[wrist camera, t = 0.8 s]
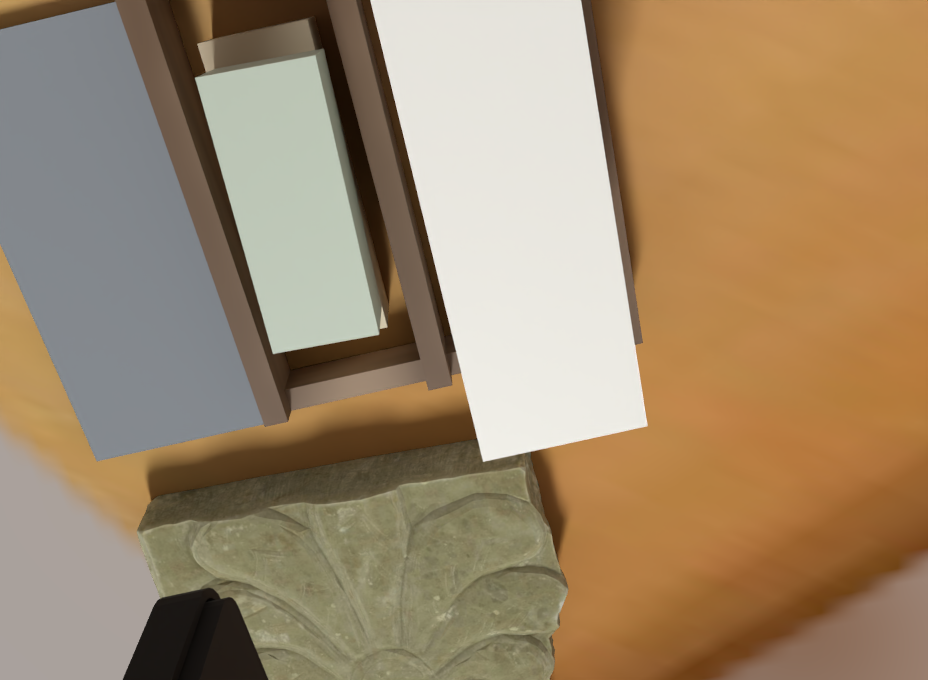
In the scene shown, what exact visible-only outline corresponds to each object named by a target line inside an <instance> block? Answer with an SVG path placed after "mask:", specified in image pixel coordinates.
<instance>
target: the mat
mask: <svg viewBox="0 0 928 680" xmlns="http://www.w3.org/2000/svg"><path fill="white" fill-rule="evenodd" d="M0 245H1V247H2V249H3V251H4V254H5V256H6V258H7V260H8V263H9V265H10V267H11V269H12V272H13V274H14V276H15V278H16V281H17V283H18V285H19V287H20V290H21V292H22V294H23V296H24V299H25V301H26V303H27V305H28V308H29V310H30V312H31V314H32V317H33V319H34V321H35V323H36V326H37V328H38V330H39V332H40V335H41V337H42V339H43V341H44V344H45V346H46V348H47V350H48V353H49V355H50V357H51V359H52V362H53V364H54V366H55V368H56V371H57V373H58V375H59V377H60V379H61V382H62V384H63V386H64V388H65V391H66V393H67V395H68V397H69V400H70V402H71V404H72V406H73V409H74V411H75V413H76V415H77V418H78V420H79V422H80V424H81V427H82V429H83V431H84V433H85V436H86V438H87V440H88V442H89V445H90V447H91V449H92V451H93V454H94V456H95V458H96V460H97V461H100V460H105V459H109V458H114V457H118V456H123V455H127V454H132V453H136V452H141V451H145V450H150V449H154V448H159V447H163V446H168V445H172V444H177V443H181V442H186V441H190V440H195V439H199V438H204V437H208V436H213V435H217V434H222V433H226V432H231V431H235V430H240V429H244V428H249V427H254V426H258V425H263V424H264V423H263V421H262V418H261V415H260V412H259V409H258V406H257V403H256V401H255V398H254V395H253V392H252V389H251V386H250V384H249V381H248V378H247V375H246V372H245V369H244V366H243V364H242V361H241V358H240V355H239V352H238V349H237V347H236V344H235V341H234V338H233V335H232V332H231V329H230V327H229V324H228V321H227V318H226V315H225V312H224V310H223V307H222V304H221V301H220V298H219V295H218V292H217V290H216V287H215V284H214V281H213V278H212V275H211V273H210V270H209V267H208V264H207V261H206V258H205V255H204V253H203V250H202V247H201V244H200V241H199V238H198V236H197V233H196V230H195V227H194V224H193V221H192V218H191V216H190V213H189V210H188V207H187V204H186V201H185V199H184V196H183V193H182V190H181V187H180V184H179V181H178V179H177V176H176V173H175V170H174V167H173V164H172V162H171V159H170V156H169V153H168V150H167V147H166V144H165V142H164V139H163V136H162V133H161V130H160V127H159V125H158V122H157V119H156V116H155V113H154V110H153V107H152V105H151V102H150V99H149V96H148V93H147V90H146V88H145V85H144V82H143V79H142V76H141V73H140V70H139V68H138V65H137V62H136V59H135V56H134V53H133V51H132V48H131V45H130V42H129V39H128V36H127V33H126V31H125V28H124V25H123V22H122V19H121V16H120V14H119V11H118V8H117V5H116V2H112V3H108V4H104V5H100V6H96V7H92V8H87V9H83V10H79V11H75V12H71V13H67V14H63V15H58V16H54V17H50V18H46V19H42V20H38V21H34V22H29V23H25V24H21V25H17V26H13V27H9V28H5V29H0Z"/></svg>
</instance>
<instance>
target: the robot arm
mask: <svg viewBox="0 0 928 680" xmlns="http://www.w3.org/2000/svg"><path fill="white" fill-rule="evenodd" d="M123 680H268V677H267V675H266V672H265V670H264V667H263V665H262V663H261V660H260V658H259V655H258V653H257V650H256V648H255V646H254V643H253V641H252V638H251V636H250V633H249V631H248V629H247V626H246V624H245V621H244V619H243V617H242V614H241V612H240V609H239V607H238V605H237V603H236V601H235V600H234V599H233V598H231V597H227V598H222V599H221V598H220V596H219V594H218V593H217V592H216V591H215V590H214V589H212V588H205V589H200V590H195V591H191V592H186V593H181V594H176V595H172V596H167V597H162V598H161V599H159V600H158V601H157V602H156V604H155V605H154V607H153V609H152V612H151V614H150V616H149V619H148V621H147V624H146V626H145V628H144V631H143V633H142V635H141V638H140V640H139V642H138V645H137V647H136V650H135V652H134V654H133V657H132V659H131V661H130V664H129V666H128V669H127V671H126V673H125V676H124V678H123Z"/></svg>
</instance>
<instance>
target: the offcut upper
mask: <svg viewBox="0 0 928 680" xmlns="http://www.w3.org/2000/svg"><path fill="white" fill-rule="evenodd" d="M195 80H196V83H197V87H198V90H199V94H200V97H201V101H202V104H203V108H204V111H205V115H206V118H207V122H208V126H209V129H210V133H211V136H212V140H213V143H214V147H215V150H216V154H217V157H218V161H219V164H220V168H221V172H222V175H223V179H224V182H225V186H226V189H227V193H228V196H229V200H230V203H231V207H232V211H233V214H234V218H235V221H236V225H237V228H238V232H239V235H240V239H241V242H242V246H243V249H244V253H245V257H246V260H247V264H248V267H249V271H250V274H251V278H252V281H253V285H254V288H255V292H256V295H257V299H258V303H259V306H260V310H261V313H262V317H263V320H264V324H265V327H266V331H267V334H268V338H269V341H270V345H271V349H272V352H273V354H276V353H281V352H287V351H292V350H298V349H303V348H309V347H314V346H320V345H325V344H331V343H336V342H342V341H347V340H353V339H358V338H364V337H369V336H375V335H379V331H380V321H381V310H382V305H381V301H380V296H379V292H378V287H377V283H376V278H375V274H374V270H373V265H372V261H371V256H370V252H369V247H368V243H367V238H366V234H365V229H364V225H363V220H362V216H361V212H360V207H359V203H358V198H357V194H356V189H355V185H354V180H353V176H352V171H351V167H350V163H349V158H348V154H347V149H346V145H345V140H344V136H343V131H342V127H341V122H340V118H339V113H338V109H337V105H336V100H335V96H334V91H333V87H332V82H331V78H330V73H329V69H328V64H327V60H326V56H325V51H324V49H318V50H313V51H308V52H302V53H297V54H292V55H286V56H281V57H276V58H270V59H265V60H260V61H254V62H249V63H244V64H238V65H233V66H228V67H222V68H217V69H213V70H211V71H209V72H207V73H204V74H202V75H200V76H198V77H196V78H195Z"/></svg>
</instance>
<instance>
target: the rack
mask: <svg viewBox="0 0 928 680" xmlns="http://www.w3.org/2000/svg"><path fill="white" fill-rule="evenodd" d="M115 2H116V5H117V8H118V11H119V14H120V16H121V19H122V22H123V25H124V28H125V31H126V33H127V36H128V39H129V42H130V45H131V48H132V51H133V53H134V56H135V59H136V62H137V65H138V68H139V70H140V73H141V76H142V79H143V82H144V85H145V88H146V90H147V93H148V96H149V99H150V102H151V105H152V107H153V110H154V113H155V116H156V119H157V122H158V125H159V127H160V130H161V133H162V136H163V139H164V142H165V144H166V147H167V150H168V153H169V156H170V159H171V162H172V164H173V167H174V170H175V173H176V176H177V179H178V181H179V184H180V187H181V190H182V193H183V196H184V199H185V201H186V204H187V207H188V210H189V213H190V216H191V218H192V221H193V224H194V227H195V230H196V233H197V236H198V238H199V241H200V244H201V247H202V250H203V253H204V255H205V258H206V261H207V264H208V267H209V270H210V273H211V275H212V278H213V281H214V284H215V287H216V290H217V292H218V295H219V298H220V301H221V304H222V307H223V310H224V312H225V315H226V318H227V321H228V324H229V327H230V329H231V332H232V335H233V338H234V341H235V344H236V347H237V349H238V352H239V355H240V358H241V361H242V364H243V366H244V369H245V372H246V375H247V378H248V381H249V384H250V386H251V389H252V392H253V395H254V398H255V401H256V403H257V406H258V409H259V412H260V415H261V418H262V421H263V423H264V426H265V427H266V426H271V425H275V424H280V423H284V422H288V420H289V416H290V413H291V411H292V410H296V409H301V408H305V407H310V406H314V405H319V404H323V403H328V402H332V401H337V400H341V399H346V398H351V397H355V396H360V395H364V394H369V393H373V392H378V391H382V390H387V389H391V388H396V387H400V386H405V385H409V384H414V383H418V382H423V381H426V382H427V386H428V390H433V389H438V388H442V387H447V386H451V385H452V377H451V375H454V374H459V373H461V369H460V365H459V361H458V357H457V353H456V349H455V345H454V341H453V337H452V334H451V335H447V336H444V332H443V328H442V323H441V319H440V315H439V311H438V307H437V303H436V299H435V295H434V291H433V287H432V283H431V279H430V275H429V271H428V267H427V263H426V259H425V255H424V251H423V247H422V243H421V239H420V235H419V231H418V227H417V223H416V219H415V215H414V211H413V207H412V203H411V199H410V195H409V191H408V186H407V182H406V178H405V174H404V170H403V166H402V162H401V158H400V154H399V150H398V146H397V142H396V138H395V134H394V130H393V126H392V122H391V118H390V114H389V110H388V106H387V102H386V98H385V94H384V90H383V86H382V82H381V78H380V74H379V70H378V66H377V62H376V58H375V54H374V49H373V45H372V41H371V37H370V33H369V29H368V25H367V21H366V17H365V13H364V9H363V5H362V1H361V0H326V2H327V6H328V10H329V13H330V17H331V21H332V25H333V29H334V32H335V36H336V40H337V44H338V48H339V51H340V55H341V59H342V63H343V67H344V70H345V74H346V78H347V82H348V86H349V89H350V93H351V97H352V101H353V105H354V108H355V112H356V116H357V120H358V124H359V127H360V131H361V135H362V139H363V143H364V147H365V150H366V154H367V158H368V162H369V166H370V169H371V173H372V177H373V181H374V185H375V188H376V192H377V196H378V200H379V204H380V207H381V211H382V215H383V219H384V223H385V226H386V230H387V234H388V238H389V242H390V245H391V249H392V253H393V257H394V261H395V264H396V268H397V272H398V276H399V280H400V283H401V287H402V291H403V295H404V299H405V302H406V306H407V310H408V314H409V318H410V321H411V325H412V329H413V333H414V337H415V340H416V342H415V343H411V344H407V345H402V346H398V347H393V348H389V349H384V350H380V351H375V352H371V353H366V354H362V355H357V356H353V357H348V358H344V359H339V360H335V361H331V362H326V363H322V364H317V365H313V366H308V367H304V368H299V369H295V370H290V367H289V364H288V361H287V358H286V355H285V352H281V353H276V354H273V352H272V349H271V345H270V341H269V338H268V334H267V331H266V327H265V324H264V320H263V317H262V313H261V310H260V306H259V303H258V299H257V295H256V292H255V288H254V285H253V281H252V278H251V274H250V271H249V267H248V264H247V260H246V257H245V253H244V249H243V246H242V242H241V239H240V235H239V232H238V228H237V225H236V221H235V218H234V214H233V211H232V207H231V203H230V200H229V196H228V193H227V189H226V186H225V182H224V179H223V175H222V172H221V168H220V164H219V161H218V157H217V154H216V150H215V147H214V143H213V140H212V136H211V133H210V129H209V126H208V122H207V118H206V115H205V111H204V108H203V104H202V101H201V97H200V94H199V91H198V88H197V85H196V82H195V78H194V75H193V72H192V69H191V66H190V63H189V60H188V57H187V54H186V51H185V48H184V45H183V42H182V39H181V36H180V33H179V30H178V27H177V24H176V21H175V18H174V15H173V12H172V9H171V5H170V2H169V0H115ZM581 3H582V10H583V16H584V22H585V29H586V35H587V42H588V48H589V54H590V61H591V67H592V74H593V80H594V86H595V93H596V99H597V106H598V112H599V118H600V125H601V131H602V138H603V144H604V151H605V157H606V163H607V170H608V176H609V183H610V189H611V195H612V202H613V208H614V215H615V221H616V227H617V234H618V240H619V247H620V253H621V259H622V266H623V272H624V279H625V285H626V291H627V298H628V304H629V311H630V317H631V323H632V330H633V336H634V343H635V345H636V344H641V343H643V341H642V334H641V328H640V321H639V315H638V308H637V302H636V295H635V288H634V282H633V275H632V269H631V262H630V256H629V249H628V242H627V236H626V229H625V223H624V216H623V210H622V203H621V196H620V190H619V183H618V177H617V170H616V164H615V157H614V150H613V144H612V137H611V131H610V124H609V117H608V111H607V104H606V98H605V91H604V85H603V78H602V71H601V65H600V58H599V52H598V45H597V39H596V32H595V25H594V19H593V12H592V6H591V0H581Z"/></svg>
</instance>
